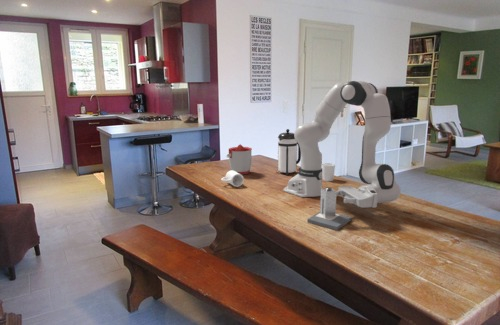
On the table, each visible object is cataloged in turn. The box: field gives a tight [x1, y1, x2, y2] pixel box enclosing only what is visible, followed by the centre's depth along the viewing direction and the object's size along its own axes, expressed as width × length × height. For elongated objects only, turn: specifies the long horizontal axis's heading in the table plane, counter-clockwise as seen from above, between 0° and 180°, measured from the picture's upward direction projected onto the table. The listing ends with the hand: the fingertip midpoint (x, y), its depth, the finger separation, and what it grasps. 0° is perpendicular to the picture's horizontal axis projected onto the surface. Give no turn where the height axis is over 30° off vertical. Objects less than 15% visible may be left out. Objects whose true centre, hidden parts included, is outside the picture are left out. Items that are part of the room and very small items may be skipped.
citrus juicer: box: [226, 143, 253, 176], centre depth 233 cm, size 16×17×20 cm
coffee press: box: [276, 128, 301, 177], centre depth 233 cm, size 17×16×30 cm
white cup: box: [322, 162, 336, 182], centre depth 216 cm, size 8×8×10 cm
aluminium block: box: [319, 186, 338, 218], centre depth 154 cm, size 5×5×13 cm
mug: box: [221, 169, 245, 188], centre depth 207 cm, size 12×10×8 cm
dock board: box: [307, 211, 352, 231], centre depth 152 cm, size 14×14×2 cm
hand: (338, 197), depth 154 cm, fingers open, 8 cm apart
